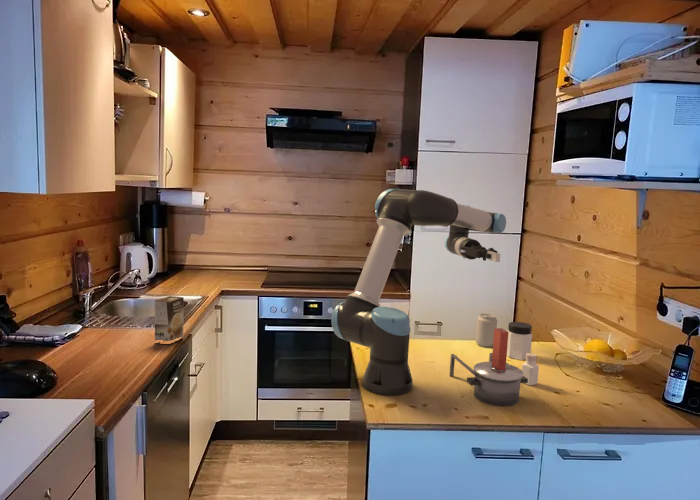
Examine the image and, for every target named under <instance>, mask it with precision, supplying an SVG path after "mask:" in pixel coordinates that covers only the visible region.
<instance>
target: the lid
mask: <svg viewBox="0 0 700 500" xmlns="http://www.w3.org/2000/svg"><path fill="white" fill-rule="evenodd" d="M508 333H509V332H507V330H506V329H504V328H501V327H500V328H494V340H493V346H492V352H491V353H492V362H489V361H483V362H482V361H481V362H478V363H476V364H475V365H474V366H473V370H474V372H475V373H476V374H478V375H479V376H481V377H484V378H487V379H491V380H496V381H506V382H508V381H517V380H520V379H521V378H522V377H523V372H522V369H520V368H519V367H517V366H515V365H512V364H509V363H508V364H506V363H507V358H508V356H507V345H508Z"/></svg>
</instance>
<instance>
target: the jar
mask: <svg viewBox="0 0 700 500" xmlns="http://www.w3.org/2000/svg"><path fill="white" fill-rule="evenodd" d="M532 330H533V326H532V324H530V323H527V322H522V321H510V322H509V323H508V327H507V330H506V331H507V332H509V333H508V345H507V358H509V359H514V360H518V361H524V360H525V361H526V354H527V353H532V341H533V333H532Z"/></svg>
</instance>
